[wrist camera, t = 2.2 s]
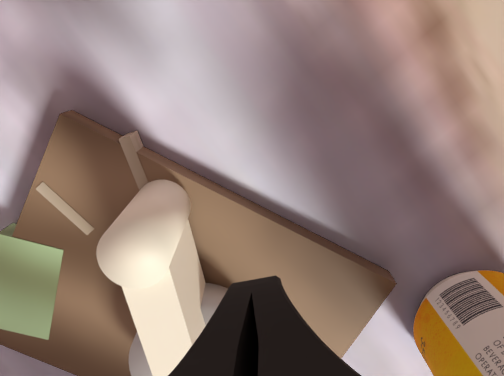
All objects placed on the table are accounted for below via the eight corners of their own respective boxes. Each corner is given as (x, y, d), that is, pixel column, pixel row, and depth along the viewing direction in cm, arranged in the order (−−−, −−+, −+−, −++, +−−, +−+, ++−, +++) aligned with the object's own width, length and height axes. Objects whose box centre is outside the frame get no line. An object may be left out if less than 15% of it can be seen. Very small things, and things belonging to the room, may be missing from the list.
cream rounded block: (272, 374, 21) (278, 464, 16) (158, 393, 21) (133, 486, 16) (223, 166, 17) (214, 206, 13) (89, 193, 18) (33, 241, 13)
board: (269, 434, 24) (270, 454, 23) (-23, 314, 21) (-39, 329, 20) (394, 262, 20) (403, 275, 19) (63, 92, 18) (49, 95, 17)
